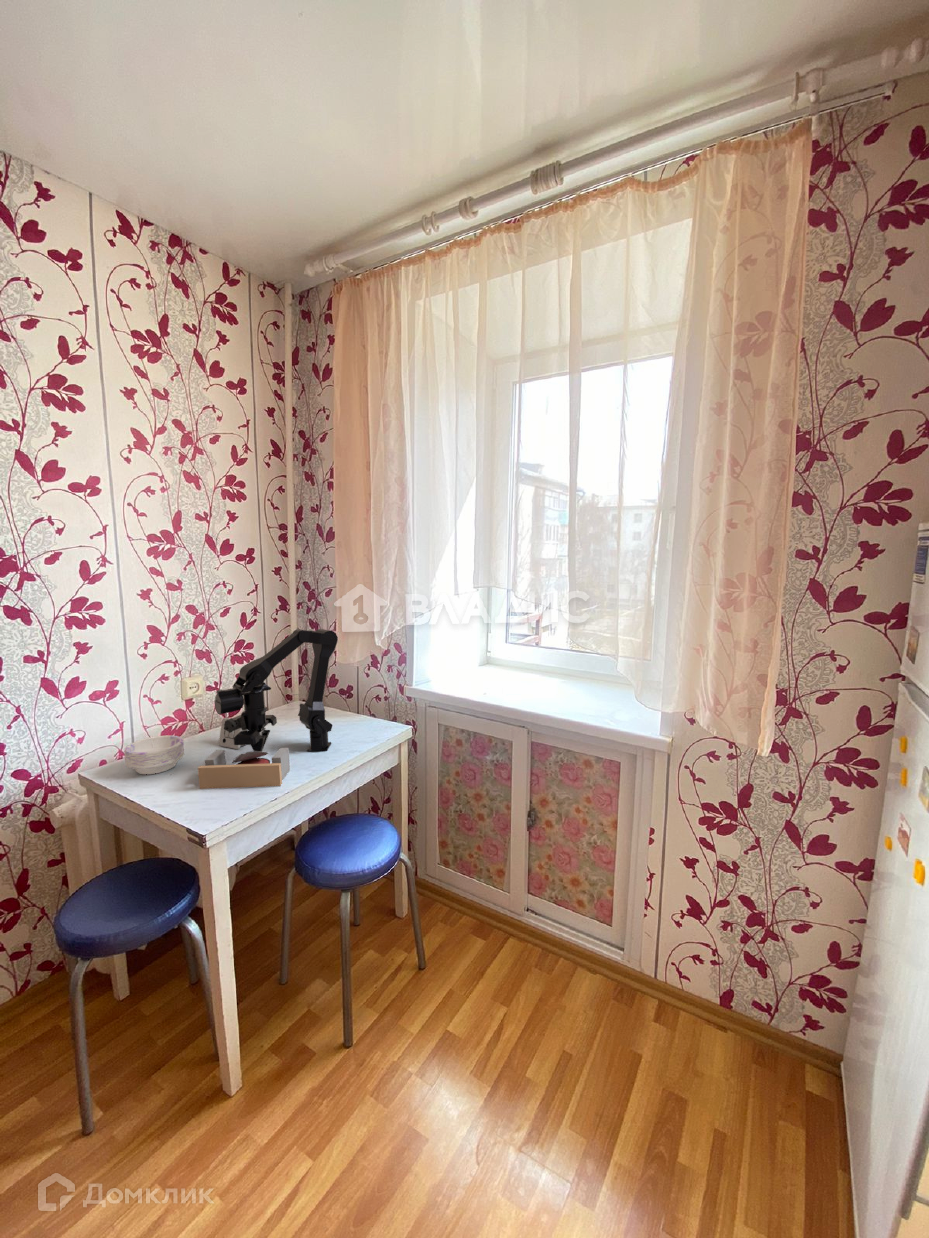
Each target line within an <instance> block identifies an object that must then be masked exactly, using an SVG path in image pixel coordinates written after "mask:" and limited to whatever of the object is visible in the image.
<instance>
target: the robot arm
mask: <svg viewBox="0 0 929 1238" xmlns="http://www.w3.org/2000/svg"><path fill="white" fill-rule="evenodd" d="M338 639H339V638H338V635H337V633H336V632H334V631H333V630H329V629H324V628H319V629H317V630H305V629H300V628H296V629H295V630H293V631H292V632H291V634H290V635H288V636H287V637H286V638H284V640H282V641H281V642H279V643H278V644H277V645H276V646H274V647H273V648H272V649H271V650H269V651H268V652H267V653H266V654H265V655H263V656H261V657H259V658H256V659H254V660H252V661H249V662H247V663H246V664H245V665H243V666H242V667H241V668H240V669H239V675H238V677H237V678H236V680H235V682H233V685H232V686H231V687H232V688H227V689H219V690H216V691H215V692H216V695H215V697H214V707H215V711H216V713H217V715H223V714H228V713H233V712H237V711H241V709H244V710H243V711H242V712H241V714H240V715H236V716H235V717H231V718H230V719H229V720H226V721H225V724H224V730H226V731H228V732H229V733H231V732H233V731H234V730H237V729H240V728H241V729H242V730H246V729H248V731H241V732H239V733H238V734H237V735H236V736H235V737H234V738H233V740H234V745H245V746H251V748H252V751H262V752H264V751H263V750H264V748H265V745H266V742H267V740H268V737H269V734H270V733H271V729H267V728H266V726H268V724H270V725H271V726H273V727H274V726H275V725H276V724H278V719H277V716H276V715H274V714H266V713H267V712H268V709H269V708H268V706H266V704H265V703H266V701H265V692H266V691H271V690H272V687H271V686H269V685H267V683H266V682H265V681H266V680H267V678H268V677H270V675H271V673H272V671H273V669H274V668H275V667H276V666H277V665H279V663H281V662H282V661H283V660H284V659H286V658H287V657H288V656H290V655H291V653H293V652H295V650H297V649H298V648H299V647H301V646H302V645H303V644H304V643H305V644H306V643H308V644H309V643H310V644H311V645H312V651H313V653H314V655H313V656H314V657H313V664H312V669H311V676H310V677H311V678H310V684H309V689H308V695H307V698H306V700H305V702H304V703H300V704H299V712H298V714H297V716H298V717H299V721H300V723H301V724H302V725H304V726H305V728H306V730H307V729H308V730H309V742H310V743H309V744H310V746H308V748H307V752H323V751H324V752H325V751H328V750H329V748H330V747H331V745H332V742H331V741H329V732H331V731H332V729H333V724H332V723H331V722H329V721H328V720H327V719H326V710H325V705H324V695H325V689H326V688H325V687H326V682H327V675H328V670H329V662H330V658H331V656H332V654H333V653H334V652H335V650H336V648H337V645H338ZM243 707H244V708H243Z"/></svg>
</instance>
